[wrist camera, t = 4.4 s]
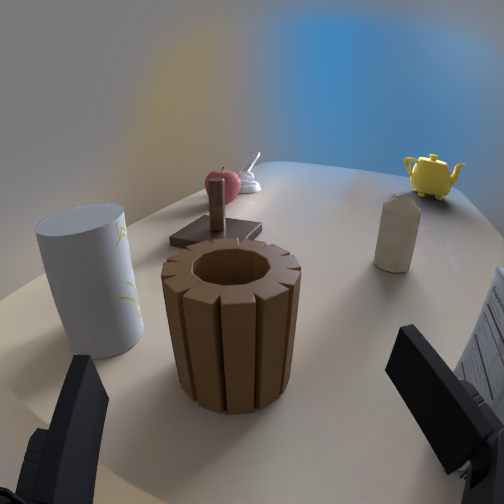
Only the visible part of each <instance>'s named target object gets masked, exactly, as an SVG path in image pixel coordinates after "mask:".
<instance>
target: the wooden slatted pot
mask: <svg viewBox="0 0 504 504" xmlns="http://www.w3.org/2000/svg"><path fill="white" fill-rule="evenodd" d="M266 244H267V243H266V242H262V241H256V240H249V239H243V240H242V241H241V242H240V243H239V242H238V238H230V239H214V240H213V244H212V243H211V242H209V241H203V242H200V243H196V244H193V245H189V246H186V250H184V249H180V250H179V251H177V252H176V253H175V254H173V255H172V256H171V257H169V258H168V259H167V262H166V263H164V264H163V269H162V274H161V280H162V287H163V293H164V300H165V306H166V312H167V318H168V324H169V330H170V335H171V341H172V346H173V351H174V356H175V361H176V366H177V371H178V376H179V381H180V383H181V386H182V388H183V389H184V391H185V392H186V393H187V394H188V396H189V397H190V398H191V399H192V401H193V402H195V401H197V400H198V404H199V406H201V407H204V408H206V409H209V410H212V411H215V412H218V413H220V414H221V413H222V412H223V410H224V408H225V407H226V405H227V411H228V414H239V413H249V412H253V411H254V405H255V406H256V407H257V408H259V409H260V410H261V409H262V408H264V407H265V406H267V405H269V404H270V403H272V402H273V401H275V400H276V399H278V398H279V393H280V394H283V392H284V390H285V387H286V385H287V383H288V380H289V377H290V370H291V362H292V354H293V346H294V337H295V329H296V320H297V310H298V301H299V291H300V281H301V267H300V265H299V263H298V262H297V260H296V258H295V257H294V255H290V252H288V251H286V250H284V249H282V248H280V247H278V246H276V245H274V244H271V245H267V246H266Z"/></svg>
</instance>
